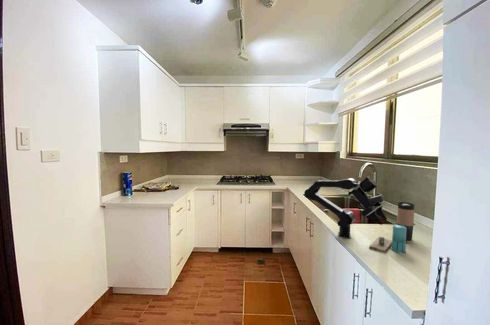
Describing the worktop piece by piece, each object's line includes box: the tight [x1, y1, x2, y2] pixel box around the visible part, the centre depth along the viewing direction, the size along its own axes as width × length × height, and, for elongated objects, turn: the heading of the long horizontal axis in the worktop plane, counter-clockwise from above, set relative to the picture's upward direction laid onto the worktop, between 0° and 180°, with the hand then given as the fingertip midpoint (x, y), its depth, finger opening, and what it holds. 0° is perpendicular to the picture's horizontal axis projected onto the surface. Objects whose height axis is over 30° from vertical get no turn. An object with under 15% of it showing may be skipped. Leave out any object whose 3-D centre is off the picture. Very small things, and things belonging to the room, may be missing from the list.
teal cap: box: [390, 224, 407, 254], centre depth 115 cm, size 6×6×12 cm
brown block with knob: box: [369, 236, 392, 253], centre depth 121 cm, size 7×16×4 cm, turn 136°
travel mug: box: [396, 201, 415, 242], centre depth 129 cm, size 8×8×20 cm
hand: (384, 222), depth 119 cm, fingers open, 9 cm apart
